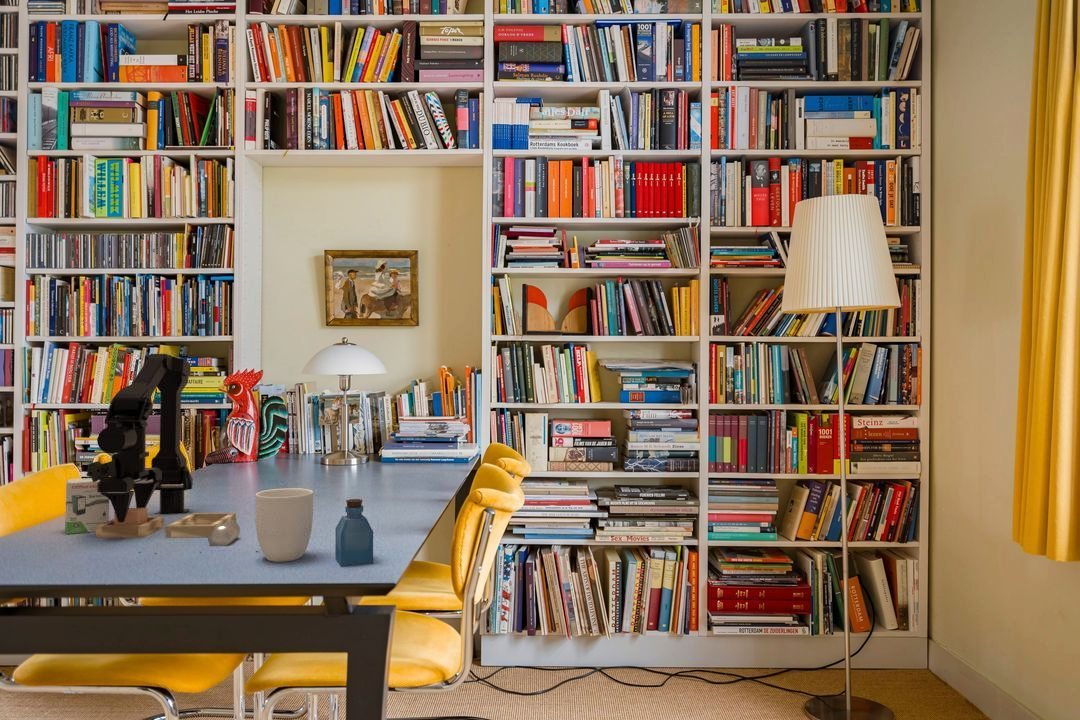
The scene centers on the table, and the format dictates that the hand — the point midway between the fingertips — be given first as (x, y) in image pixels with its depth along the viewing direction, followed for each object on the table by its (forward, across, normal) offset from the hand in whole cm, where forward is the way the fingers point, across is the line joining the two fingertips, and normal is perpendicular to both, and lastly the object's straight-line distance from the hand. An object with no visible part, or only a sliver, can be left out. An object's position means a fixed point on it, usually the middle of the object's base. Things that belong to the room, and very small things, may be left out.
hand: (130, 518), depth 177 cm
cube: (+3, 0, 0) cm, 3 cm away
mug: (+4, +21, +39) cm, 44 cm away
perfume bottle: (+4, +25, +54) cm, 60 cm away
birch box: (+4, -2, +15) cm, 16 cm away
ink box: (+4, -5, -12) cm, 14 cm away
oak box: (+4, 0, 0) cm, 4 cm away
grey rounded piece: (+4, +10, +23) cm, 25 cm away
